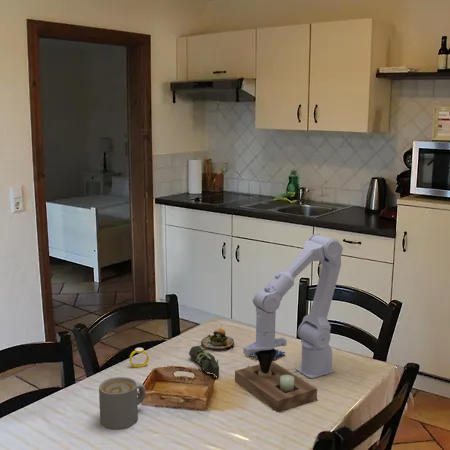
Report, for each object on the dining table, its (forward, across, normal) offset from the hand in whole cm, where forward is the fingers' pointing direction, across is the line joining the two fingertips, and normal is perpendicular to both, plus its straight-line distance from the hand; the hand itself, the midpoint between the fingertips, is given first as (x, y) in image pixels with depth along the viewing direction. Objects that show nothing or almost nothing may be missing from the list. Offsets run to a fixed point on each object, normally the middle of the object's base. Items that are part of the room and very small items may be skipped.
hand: (264, 372), depth 174 cm
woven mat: (+5, -12, -17) cm, 21 cm away
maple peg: (+3, 0, 0) cm, 3 cm away
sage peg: (+1, 0, +11) cm, 11 cm away
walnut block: (+4, 0, +5) cm, 6 cm away
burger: (+4, -3, -33) cm, 33 cm away
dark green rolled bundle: (+4, +10, -19) cm, 22 cm away
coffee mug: (+4, +44, -3) cm, 44 cm away
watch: (+4, +28, -31) cm, 42 cm away
